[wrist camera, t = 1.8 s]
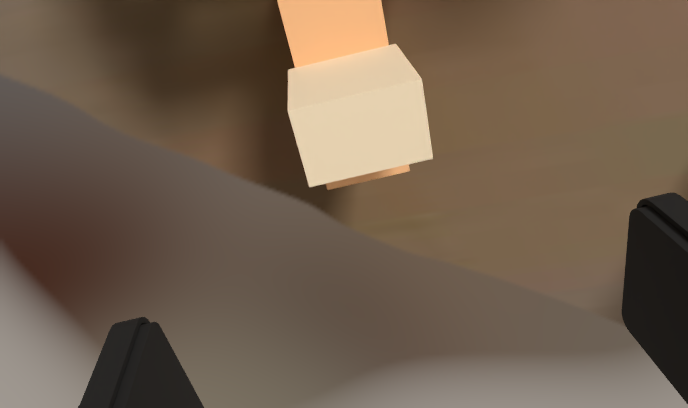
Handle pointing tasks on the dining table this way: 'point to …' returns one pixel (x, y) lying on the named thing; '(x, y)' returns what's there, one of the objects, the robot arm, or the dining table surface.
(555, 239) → the dining table surface
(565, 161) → the dining table surface
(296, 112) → the orange cream legged block
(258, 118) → the dining table surface
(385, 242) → the dining table surface
